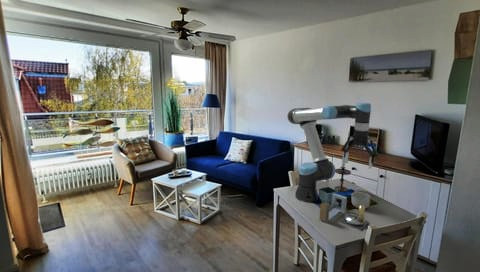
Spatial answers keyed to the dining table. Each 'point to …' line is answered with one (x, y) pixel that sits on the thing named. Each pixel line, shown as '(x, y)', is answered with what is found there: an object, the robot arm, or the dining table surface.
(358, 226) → the wheel stand
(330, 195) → the flower pot
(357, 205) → the teacup
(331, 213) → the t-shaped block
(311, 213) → the dining table surface
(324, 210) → the post in wooden base
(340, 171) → the candlestick
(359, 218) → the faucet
